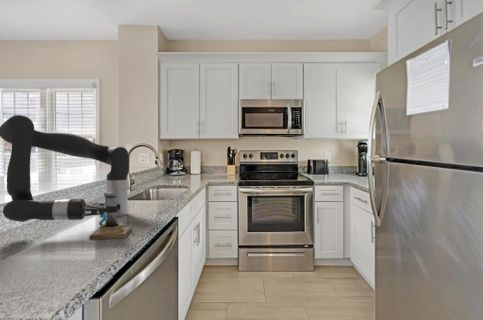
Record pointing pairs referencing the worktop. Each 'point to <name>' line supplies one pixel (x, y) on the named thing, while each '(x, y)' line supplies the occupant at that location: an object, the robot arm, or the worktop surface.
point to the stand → (110, 232)
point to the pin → (111, 201)
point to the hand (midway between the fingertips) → (118, 208)
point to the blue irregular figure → (103, 218)
